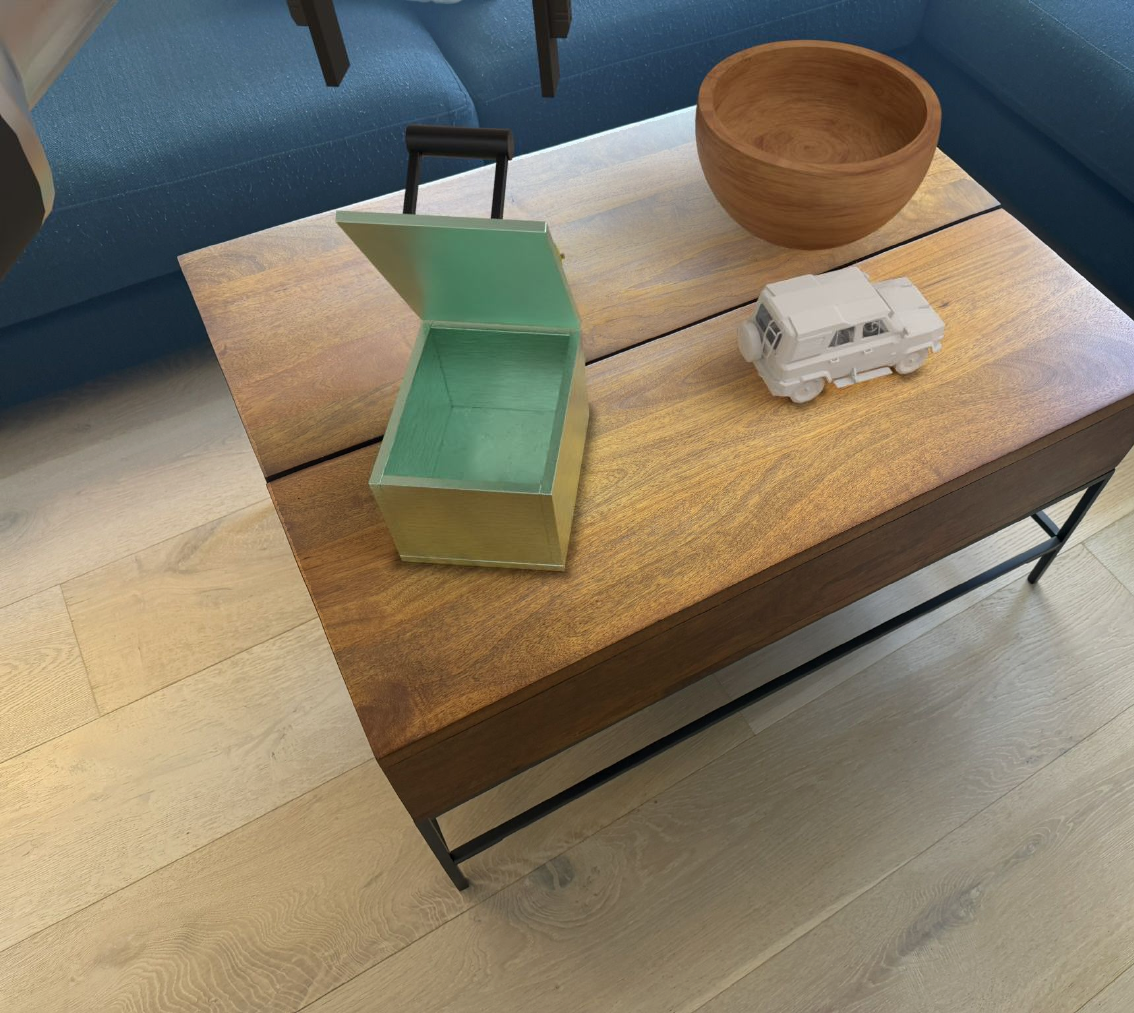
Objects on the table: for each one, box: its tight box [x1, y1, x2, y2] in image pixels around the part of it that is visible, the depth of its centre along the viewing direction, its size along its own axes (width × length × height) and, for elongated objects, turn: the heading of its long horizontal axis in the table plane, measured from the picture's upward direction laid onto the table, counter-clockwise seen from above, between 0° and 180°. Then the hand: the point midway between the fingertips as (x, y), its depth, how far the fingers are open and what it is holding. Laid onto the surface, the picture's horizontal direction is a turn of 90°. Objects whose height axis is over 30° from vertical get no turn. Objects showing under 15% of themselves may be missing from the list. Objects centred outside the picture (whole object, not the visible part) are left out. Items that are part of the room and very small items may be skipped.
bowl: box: [694, 39, 942, 251], centre depth 97 cm, size 25×25×15 cm
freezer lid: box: [334, 123, 582, 329], centre depth 68 cm, size 19×14×8 cm
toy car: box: [736, 261, 946, 404], centre depth 86 cm, size 10×20×10 cm, turn 111°
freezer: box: [368, 320, 590, 572], centre depth 76 cm, size 18×14×11 cm
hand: (444, 81), depth 57 cm, fingers open, 13 cm apart
